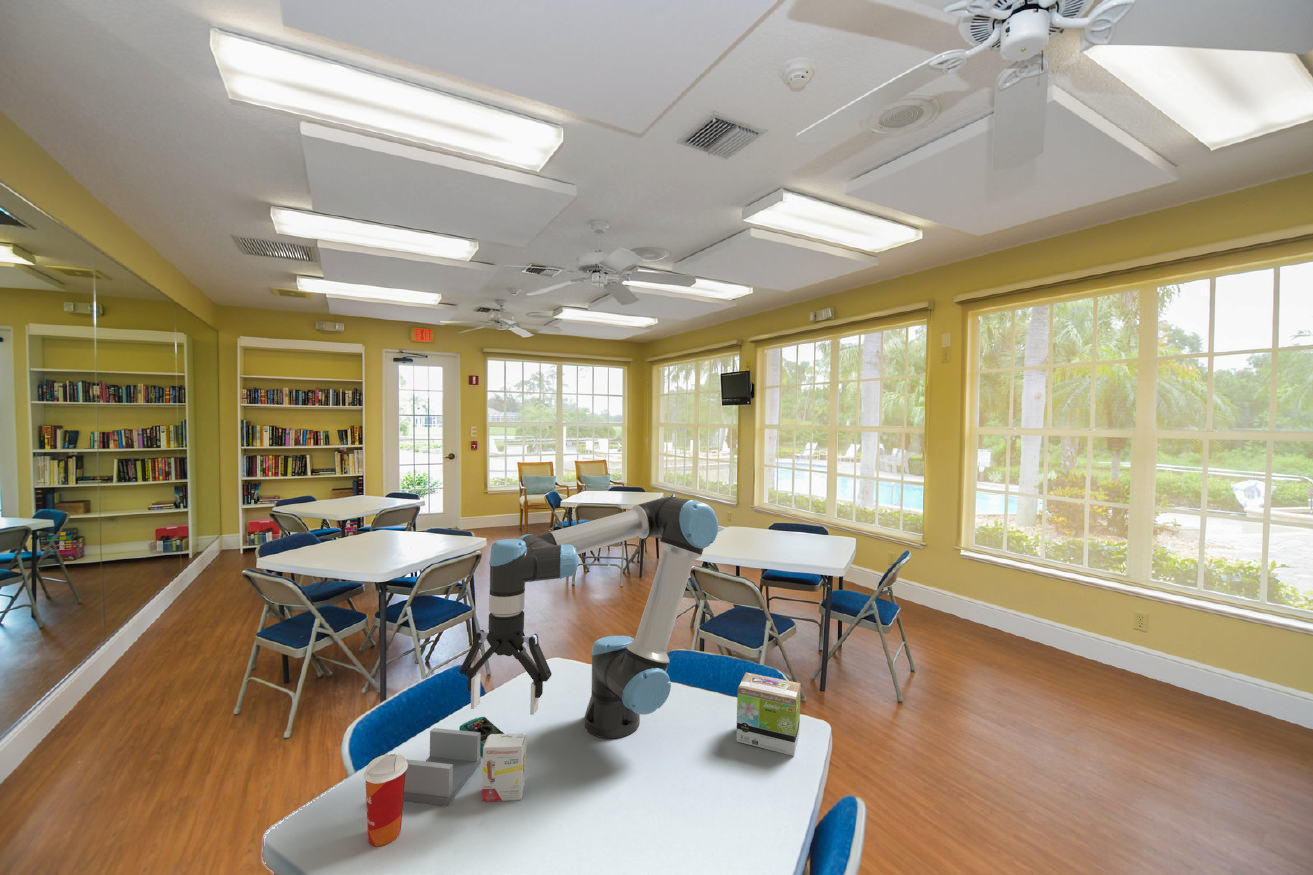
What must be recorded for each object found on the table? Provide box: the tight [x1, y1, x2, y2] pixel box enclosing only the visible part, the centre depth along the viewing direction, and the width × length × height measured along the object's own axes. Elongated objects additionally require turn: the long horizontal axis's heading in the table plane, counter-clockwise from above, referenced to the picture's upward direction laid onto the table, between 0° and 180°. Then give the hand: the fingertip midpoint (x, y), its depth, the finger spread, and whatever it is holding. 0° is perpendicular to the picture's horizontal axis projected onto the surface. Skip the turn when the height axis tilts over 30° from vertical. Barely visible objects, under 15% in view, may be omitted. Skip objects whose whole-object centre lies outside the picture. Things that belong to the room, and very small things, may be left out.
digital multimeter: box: [458, 716, 506, 757], centre depth 135 cm, size 7×15×3 cm, turn 44°
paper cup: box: [363, 753, 408, 847], centre depth 102 cm, size 8×8×14 cm
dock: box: [403, 727, 482, 807], centre depth 118 cm, size 12×15×8 cm
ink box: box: [481, 733, 527, 802], centre depth 114 cm, size 9×5×12 cm, turn 95°
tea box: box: [736, 672, 802, 757], centre depth 137 cm, size 15×10×15 cm, turn 68°
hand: (504, 709), depth 114 cm, fingers open, 13 cm apart
